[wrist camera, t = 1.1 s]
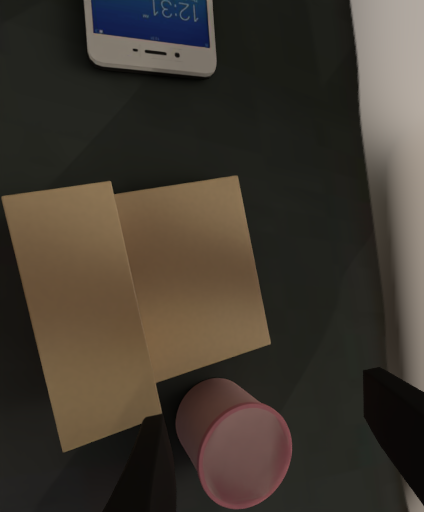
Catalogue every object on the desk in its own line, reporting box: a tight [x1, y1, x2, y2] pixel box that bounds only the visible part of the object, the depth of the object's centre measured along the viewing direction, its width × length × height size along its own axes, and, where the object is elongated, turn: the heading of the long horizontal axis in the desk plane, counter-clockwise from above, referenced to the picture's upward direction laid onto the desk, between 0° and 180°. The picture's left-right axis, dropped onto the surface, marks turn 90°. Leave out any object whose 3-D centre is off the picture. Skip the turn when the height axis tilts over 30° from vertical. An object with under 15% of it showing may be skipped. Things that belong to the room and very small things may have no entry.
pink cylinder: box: [176, 378, 292, 509], centre depth 21 cm, size 5×5×5 cm
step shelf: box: [1, 175, 271, 452], centre depth 19 cm, size 10×12×6 cm
